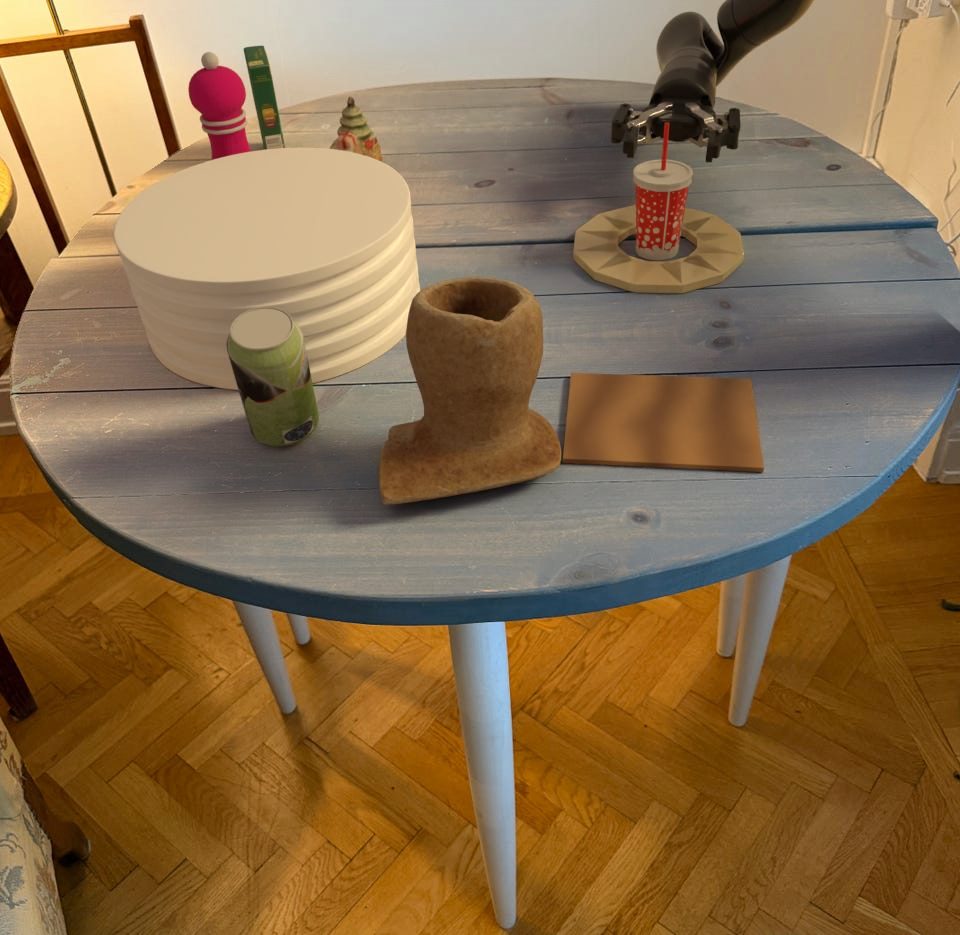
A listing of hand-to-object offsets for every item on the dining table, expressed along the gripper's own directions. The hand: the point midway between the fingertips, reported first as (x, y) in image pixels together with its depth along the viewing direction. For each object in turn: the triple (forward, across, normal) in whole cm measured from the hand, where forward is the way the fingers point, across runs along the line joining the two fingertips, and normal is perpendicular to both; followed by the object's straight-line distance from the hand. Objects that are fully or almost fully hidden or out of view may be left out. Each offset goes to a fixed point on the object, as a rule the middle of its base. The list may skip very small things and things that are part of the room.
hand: (669, 152), depth 101 cm
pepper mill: (+9, -48, +8) cm, 50 cm away
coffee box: (-12, -54, +8) cm, 56 cm away
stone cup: (+45, -12, +8) cm, 47 cm away
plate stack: (+26, -36, +8) cm, 45 cm away
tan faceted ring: (+7, 0, +8) cm, 11 cm away
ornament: (-6, -40, +8) cm, 41 cm away
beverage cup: (+7, 0, +8) cm, 11 cm away
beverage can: (+45, -28, +8) cm, 53 cm away
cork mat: (+37, +4, +8) cm, 38 cm away
